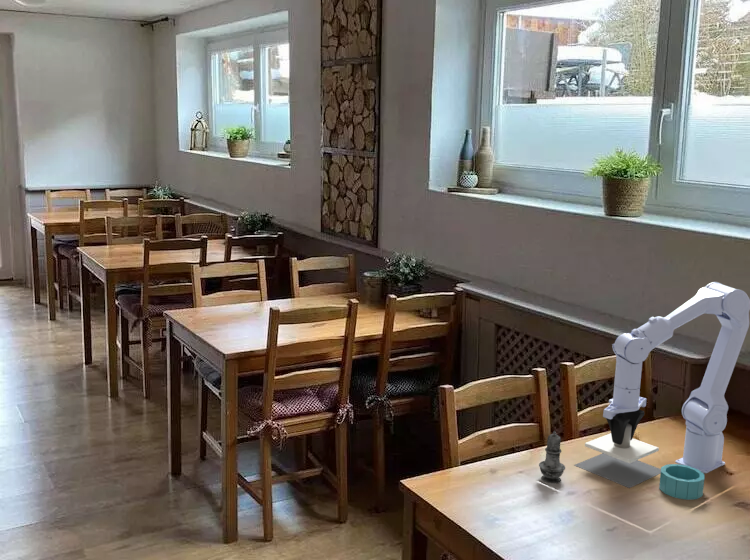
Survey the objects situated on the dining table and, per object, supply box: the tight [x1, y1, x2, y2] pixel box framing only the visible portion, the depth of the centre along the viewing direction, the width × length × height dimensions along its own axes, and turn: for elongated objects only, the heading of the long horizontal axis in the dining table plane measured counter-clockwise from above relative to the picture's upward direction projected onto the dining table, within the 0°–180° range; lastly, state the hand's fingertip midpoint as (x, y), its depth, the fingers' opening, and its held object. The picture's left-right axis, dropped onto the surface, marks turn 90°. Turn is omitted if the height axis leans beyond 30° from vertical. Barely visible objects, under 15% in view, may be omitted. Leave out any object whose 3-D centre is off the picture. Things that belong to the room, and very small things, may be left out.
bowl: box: [658, 463, 706, 501], centre depth 177 cm, size 9×9×4 cm
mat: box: [573, 453, 661, 489], centre depth 188 cm, size 15×15×1 cm
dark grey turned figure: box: [538, 430, 566, 486], centre depth 180 cm, size 6×6×12 cm
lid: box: [584, 424, 660, 463], centre depth 186 cm, size 12×12×6 cm
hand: (622, 441), depth 187 cm, fingers closed on lid, 4 cm apart
